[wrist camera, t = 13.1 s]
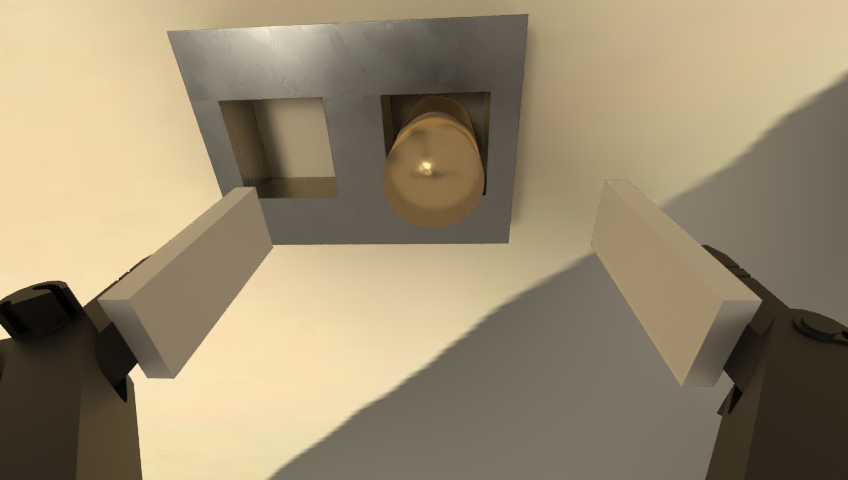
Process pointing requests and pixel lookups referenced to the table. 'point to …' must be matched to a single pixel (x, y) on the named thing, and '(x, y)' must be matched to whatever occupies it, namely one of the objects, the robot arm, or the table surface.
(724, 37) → the table surface
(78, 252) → the table surface
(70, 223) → the table surface
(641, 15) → the table surface
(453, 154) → the brass cylinder
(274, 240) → the jig
